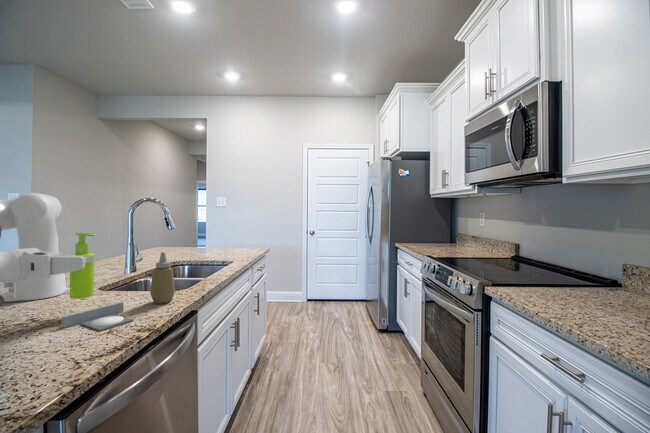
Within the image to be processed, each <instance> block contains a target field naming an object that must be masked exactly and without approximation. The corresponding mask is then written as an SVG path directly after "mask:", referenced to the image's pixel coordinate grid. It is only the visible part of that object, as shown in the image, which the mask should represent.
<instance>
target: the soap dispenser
mask: <svg viewBox="0 0 650 433" xmlns="http://www.w3.org/2000/svg"><path fill="white" fill-rule="evenodd" d="M75 236H78V242H77V243H75V245H74V246H75V248H74V249H75V253H73V255H77V256H83V257H85V256H93V257H94V258H95V253H90V243H89V242H87V237H95V236H96V234H95V233H92V232H78V233H75ZM94 273H95V260H94V261H93V262H87V263H85V267H84V268H83V269H81V270H77V271H72V272H69V288H70V290H69V298H70V299H71V300H73V299H75V300H76V299H86V298H90V297H93V296H94V294H95V290H94V289H95V285H94V284H95V282H94V281H95V280H94V279H95V274H94Z"/></svg>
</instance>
